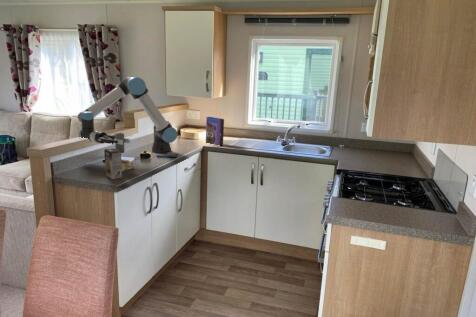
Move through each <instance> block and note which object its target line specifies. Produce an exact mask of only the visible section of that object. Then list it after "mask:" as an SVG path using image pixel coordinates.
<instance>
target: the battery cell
mask: <svg viewBox="0 0 476 317" xmlns="http://www.w3.org/2000/svg"><path fill="white" fill-rule="evenodd" d="M114 135H115V139H118V140H123V145H121V144H115V143H114V146H115V148H114V149H117V150H119V151H121V154H124V153H125V152H126V151H125V142H124V138H125V133H124V132H122V131H117V132H116V133H114Z"/></svg>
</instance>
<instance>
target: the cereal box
mask: <svg viewBox="0 0 476 317" xmlns="http://www.w3.org/2000/svg"><path fill="white" fill-rule="evenodd" d="M205 119H206V120H205V121H206V123H205V125H206V127H205V144H207V143H210V144H209V145H211V144H215V145H223V146H224V133H225V132H224V131H225V130H224V129H225V118H220V117H219V118H218V117H215V116H214V117H213V116H206V118H205ZM215 145H214V146H215Z"/></svg>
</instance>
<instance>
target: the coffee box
mask: <svg viewBox="0 0 476 317" xmlns="http://www.w3.org/2000/svg"><path fill="white" fill-rule="evenodd" d="M103 151H104V169H105V171H104V172H105V173H104V174H105V177H108V178H110V179H111V180H114V179H119V178H123V175H122V173H123V171H122V166H121V160H122V153H121V151H119V150H117V149H115V148H114V147H113V148H105V149H104V150H103Z"/></svg>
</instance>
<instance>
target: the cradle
mask: <svg viewBox="0 0 476 317" xmlns="http://www.w3.org/2000/svg"><path fill="white" fill-rule="evenodd" d="M133 164H134V163H133V161H129V160H124V159H121V166H122V172H124V171H128V170H131V169H134V165H133Z"/></svg>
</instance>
